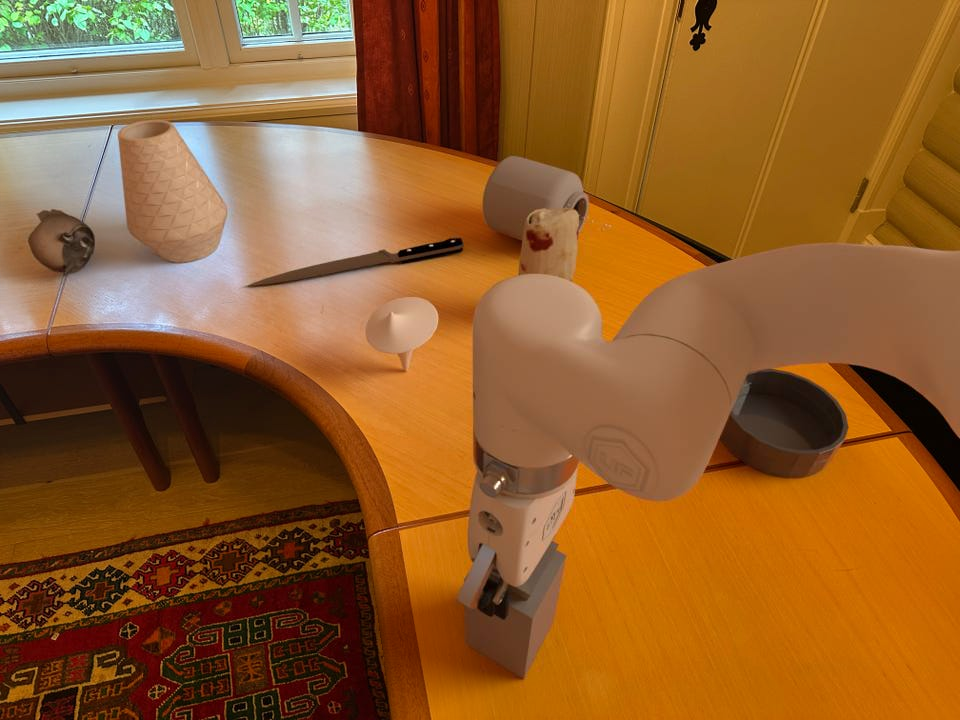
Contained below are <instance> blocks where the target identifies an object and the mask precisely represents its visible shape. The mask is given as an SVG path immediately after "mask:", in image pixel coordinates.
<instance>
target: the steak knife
mask: <svg viewBox="0 0 960 720" xmlns="http://www.w3.org/2000/svg"><path fill="white" fill-rule="evenodd" d="M464 247H465V243H464V242H463V239H462V238H461V237H452V238H451V237H450V238H447V239H445V240H442V241H437V242H430V243H425V244H421V245H415V246H412V247H408V248H407V247H406V248H403V249H399V250H398V251H397V253H391V252H389V251H387V250H386V249H381V250H378V251H375V252H370V253H366V254H361V255H357V256H352V257H346V258H340V259H336V260H331V261H327V262H323V263H318V264H314V265H309V266H305V267H302V268H297V269H293V270H289V271H286V272H283V273H279V274H276V275H273V276H269V277H266V278H263V279H261V280H257V281H255V282H252V283H250V284H247V285H244V287H254V286H255V287H256V286H265V285H272V284H279V283H286V282H293V281H298V280H303V279H307V278H312V277H319V276H323V275H324V276H325V275H329V274H333V273H338V272H344V271H349V270H354V269H359V268H364V267H370V266H374V265H379V264H385V263H390V264H391V263H396V262H400V263H401V264H408V263H414V262H419V261H424V260H428V259H434V258H439V257H443V256H444V257H445V256H450V255H453V254H459V253H461V252H463V251H464Z"/></svg>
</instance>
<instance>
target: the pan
mask: <svg viewBox="0 0 960 720" xmlns="http://www.w3.org/2000/svg"><path fill="white" fill-rule="evenodd" d="M848 430H849V422H848V418H847V414H846V412H845V410H844V409H843V407H842V406H841V404H840V403H839V401H838V400H837V399H836V398H835V397H834V396H833V395H832V394H831V393H829V392H828V391H827V390H826V388H824V387H822V386H820V385H819V384H817V383H816V382H814V381H812V380H811V379H809V378H807V377H804V376H802V375H799V374H796V373H793V372H790V371H786V370H781V369H777V368H771V369H764V370H758V371H752V372H749V373H748V375H747V377H746V379H745V381H744V383H743V385H742V387H741V390H740V392H739V394H738V397H737V399H736V401H735V404H734V406H733V408H732V410H731V412H730V414H729V417H728V419H727V422H726V424H725V426H724V428H723V431H722V433H721V435H720V438H719V440H720V441H721V442H722V444H723V446H724V447H725V448H726V449H727V450H728V451H729V452H730V453H731V454H732V455H733V456H734V457H736V458H737V459H738V460H739V461H740V462H741V463H743V464H745V465H747V466H749V467H750V468H752V469H754V470H756V471H759V472H762V473H764V474H767V475H770V476H774V477H777V478H778V477H779V478H785V479H786V478H787V479H801V478H802V479H803V478H808V477H811V476H813V475H817V474H818V473H820V472H822V471H823V470H824V469H825V468H827V466H828V465H829V464H830V463H831V462H832V461H833V459H834V457H835V456H836V454H837V452H838V451H839V450H840V448H841V446H842V444H843V443H844V442H845V440H846V439H847V434H848Z"/></svg>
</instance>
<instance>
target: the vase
mask: <svg viewBox="0 0 960 720" xmlns="http://www.w3.org/2000/svg"><path fill="white" fill-rule="evenodd" d="M117 141H118V148H119V149H118V150H119V160H120V171H121V180H122V189H123V199H124V209H125V217H126V218H125V219H126V220H125V221H126V228H127V230H128V232H129V234H130V235H131V236H132V237H133V238H135V239H136V240H137V241H138V242H140V243H141V244H143V245H144V246H145V247H147V248H148V250H151V251H152V252H153V253H155V254H156V255H157V256H158V257H160V258H161V259H162V260H165V261H166V262H169V263H177V264H178V263H179V264H181V263H182V264H183V263H185V264H186V263H192V262H195V261H199V260H202V259H205V258H207V257H209V256H210V255H212V254H213V253H214V252H215V251H216V250H217V249H218V248H219V246H220V243H221V239H222V236H223V231H224V228H225V224H226V221H227V217H228V213H229V212H228V206H227V203H226V202H225V201H224V199H223V197H222V196H221V195H220V193H219V192H218V190H217V189H216V187H215V185H214V184H213V182H212V181H211V179H210V177H209V176H208V174H207V173H206V172H205V171H204V169H203V167H202V166H201V164H200V163H199V161H198V159H196V156H195V155H194V153H193V152H192V151H191V149H190V148H189V146H188V144H187V143H186V141H185V140H184V138H183V137H182V136H181V134H180V132H179V130H178V129H177V128H176V127H175V125H174V124H173V123H172V122H171V121H168V120H165V119H145V120H140V121H136V122H132V123H129V124H127V125H125V126H123V127H121V128H120V129H119V130H118V132H117Z"/></svg>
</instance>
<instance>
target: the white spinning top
mask: <svg viewBox="0 0 960 720" xmlns="http://www.w3.org/2000/svg"><path fill="white" fill-rule="evenodd" d="M438 325H439V314H438V310H437V309H436V307H435V306H434V305H433V303H431V302H430V301H428V300H427V299H424V298H422V297H417V296H403V297H398V298H394V299H392V300H389V301H387V302H385V303H384V304H382V305H380V306H379V307H378V308H377V309H375V310H374V312H372V314H371V316H370V317H369V318H368V320H367V322H366V324H365V328H364V329H365V332H364V334H365V339H366V341H367V343H368V345H370V346H371V347H372V348H373V349H375V350H376V351H377V352H381V353H385V354H390V355H391V354H393V355H394V354H395V355H396V354H397V356H398V357H399V360H400V364H401V367H402V370H403V371H404V372H405V373H408V371H409V369H410V363H411V359H412V356H413V353H414V352H413V351H414V350H415V349H417V348H419V347H421V346H422V345H424V344H425V343H427V341H429V340H430V339H431V338H432V336H433V335H434V333H435V332H436V329H437V327H438Z"/></svg>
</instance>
